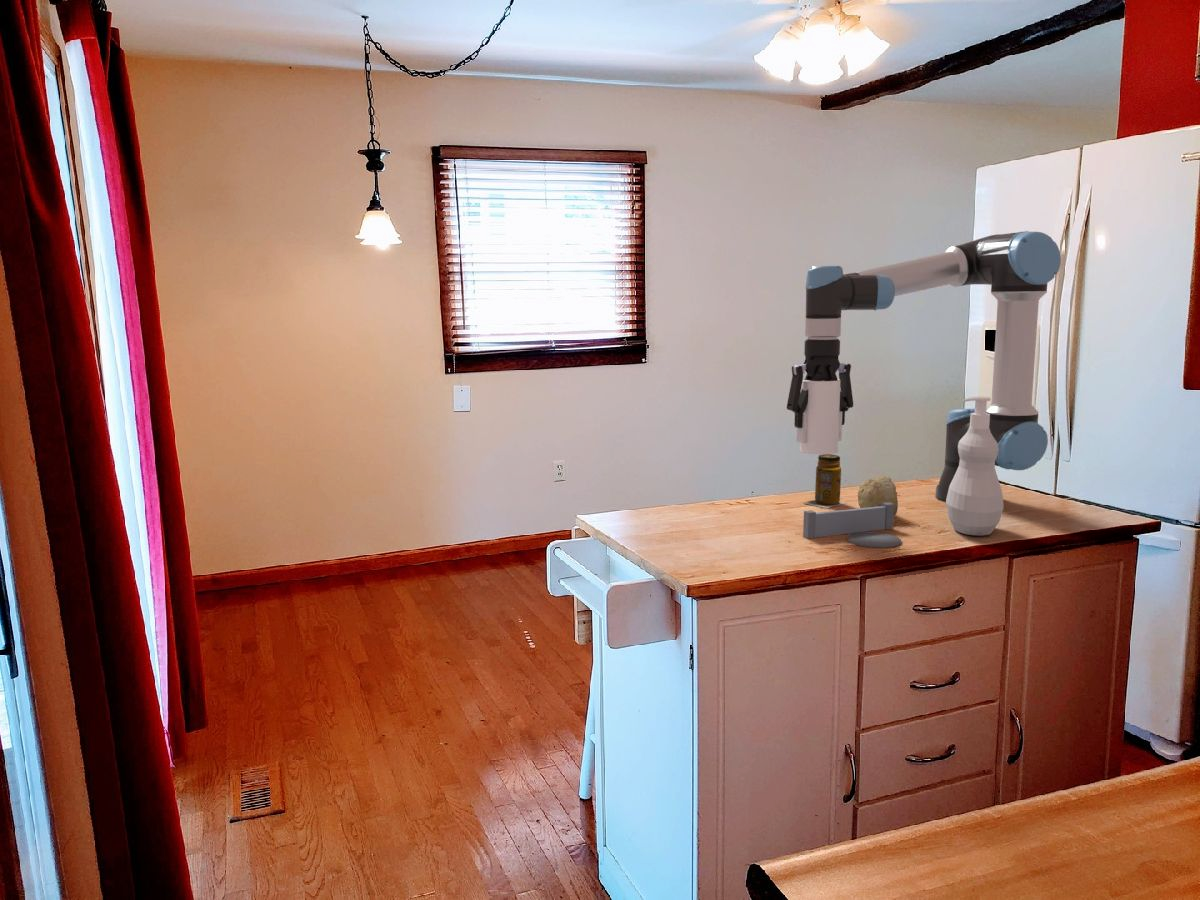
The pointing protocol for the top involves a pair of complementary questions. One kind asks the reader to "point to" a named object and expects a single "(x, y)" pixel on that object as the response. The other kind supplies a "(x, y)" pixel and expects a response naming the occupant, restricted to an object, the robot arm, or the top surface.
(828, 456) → the condiment
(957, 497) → the soap bottle
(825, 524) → the grey barrier wall
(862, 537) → the slate coaster
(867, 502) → the beige rough lump
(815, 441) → the cup
